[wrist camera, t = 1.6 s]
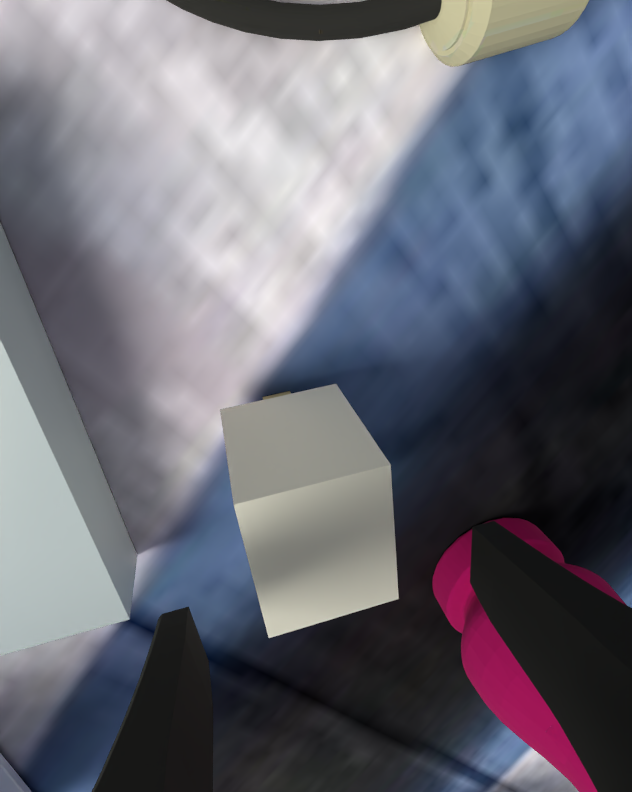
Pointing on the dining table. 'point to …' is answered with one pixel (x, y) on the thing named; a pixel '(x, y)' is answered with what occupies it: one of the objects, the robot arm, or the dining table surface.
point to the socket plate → (50, 493)
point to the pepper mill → (508, 651)
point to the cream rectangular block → (311, 507)
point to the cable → (403, 21)
